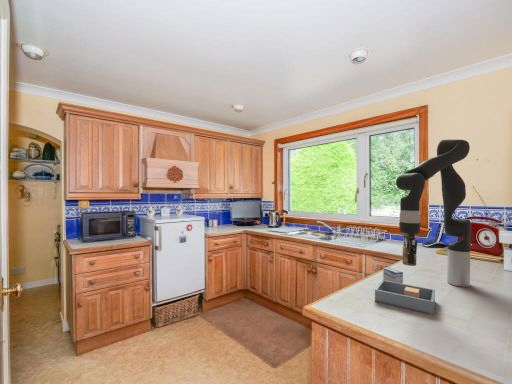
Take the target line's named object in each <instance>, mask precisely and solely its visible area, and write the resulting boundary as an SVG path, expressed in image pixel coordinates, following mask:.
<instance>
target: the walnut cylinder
mask: <svg viewBox="0 0 512 384" xmlns="http://www.w3.org/2000/svg"><path fill="white" fill-rule="evenodd" d="M411 251H413V249H411ZM401 262H402V264H403V265H405V266H410V267H414V266H415V267H416V266H417V253H416V254H415V255H414V264H409V263H408V249H407V248H406V246H403V245H402V261H401Z"/></svg>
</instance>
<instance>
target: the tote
mask: <svg viewBox="0 0 512 384" xmlns="http://www.w3.org/2000/svg"><path fill="white" fill-rule="evenodd" d="M406 287H410V288H415V289H420V291H419V298H415V297H410V296H406V295H404V290H405V288H406ZM374 302H375V303H378V304H379V303H380V304H384V305H389V306H393V307H398V308H401V309H405V310H410V311H414V312H418V313H422V314H426V315H431V316H434V313H433V312H434V311H435V304H436V303H435V302H436V290H435V289H433V288H428V287H422V286H417V285H412V284H406V283H403V284H402V283H396V282H391V281H386V280H383V279H381V281H380V283H378V285H377V286H376V288H375V289H374Z"/></svg>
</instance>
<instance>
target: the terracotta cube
mask: <svg viewBox="0 0 512 384" xmlns="http://www.w3.org/2000/svg"><path fill="white" fill-rule="evenodd" d="M419 291H420V289H415V288H410V287H406V288H405V290H404V295H406V296H410V297H415V298H419Z"/></svg>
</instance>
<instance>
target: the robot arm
mask: <svg viewBox="0 0 512 384" xmlns="http://www.w3.org/2000/svg"><path fill="white" fill-rule="evenodd" d="M470 146H471V145H470V143H469V142H468V141H467V140H465V139H441V140H440V141H439V142H438V143H437V146H436V156H434V157H430V158H428V159H426V160H423V161H422V162H421V163H419V164H418V165H417V166H415V167H413V168H411V169H409V170H406V171H404V172H402V173H401V174H400V175H399V174H398V176H397V178H396V179H395V180H396V181H395V185H396V187H397V188H398V189H399V190H401V191H409V193H407V195H404V196H402V197H401V198H400V201H399V203H400V207H399V220H398V221H399V229H398V230H399V233H403V234H402V247H403V246H406V248H407V249H408V263H409V264H414V255H415V254H416V255H417V251H418V240H417V238H416V236H415V234H416V235H418V234H421V205H420V203H421V198H422V195H423V192H424V189H425V185H426V181H427V180H430V179H431V178H432V177H434V175H436V174H437V173H439V172H440V180H441V181H440V182H441V183H440V184H441V196H442V204H443V230H444V233H445V235H446V236H448V237H455V238H457V237H458V238H462V239H461V240H459V241H454V242H449V243H448V244H447V263H446V264H447V275H446V276H447V278H446V279H447V280H446V281H447V283H448V284H449V285H453V286H456V287H461V288H470V287H471V235H472V222H471V220H470V219H468V218H453V215H454V213H455V211H456V210H457V209H458V208H459V207H460V206H461V204H462V203H464V201H465V199H466V197H467V192H466V183H465V181H464V179H463V178H462V177H461V175H460V174H459V173H458V172H457V171H456V169H455V167H454V166H453V165H454V164H456V163H458V162H460V161H462V160H464V159H465V158H467V157H468V155H469V153H470V148H471V147H470ZM411 249H413V251H411Z"/></svg>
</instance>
